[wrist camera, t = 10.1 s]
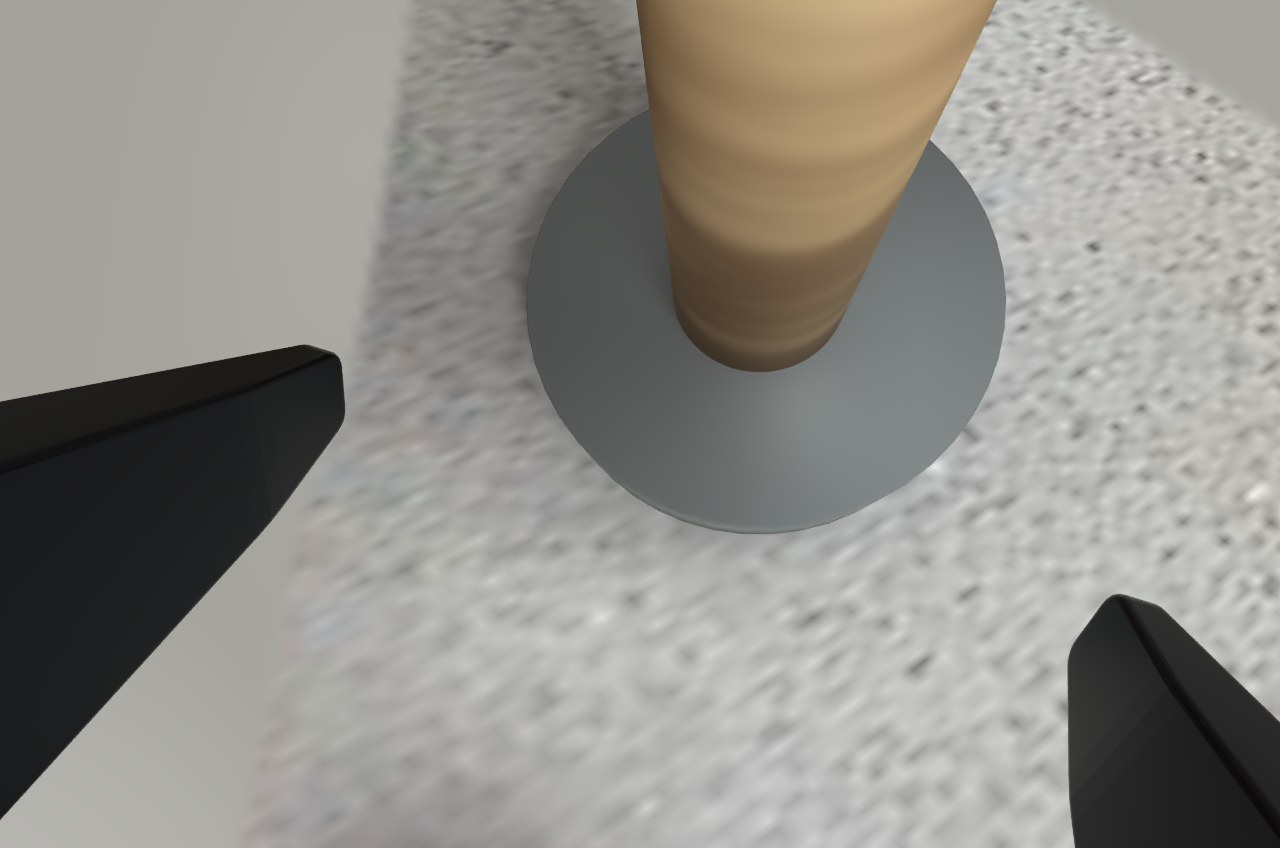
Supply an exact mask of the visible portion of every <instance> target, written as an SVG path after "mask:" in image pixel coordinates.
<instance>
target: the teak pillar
mask: <svg viewBox="0 0 1280 848" xmlns="http://www.w3.org/2000/svg"><path fill="white" fill-rule="evenodd" d="M996 1H997V0H636V2H637V10H638V18H639V26H640V34H641V42H642V50H643V58H644V67H645V75H646V83H647V91H648V99H649V107H650V115H651V123H652V131H653V139H654V147H655V155H656V163H657V171H658V180H659V188H660V196H661V204H662V212H663V220H664V228H665V236H666V244H667V252H668V260H669V268H670V276H671V284H672V292H673V300H674V307H675V311H676V315H677V318H678V320H679V322H680V325H681V327H682V329H683V330H684V332H685V334H686V335H687V337H688V338H689V339H690V340H691V342H692V343H693V344H694V345H695V346H696V347H697V348H698V349H699V350H700V351H701V352H703V353H704V354H705V355H707V356H708V357H709V358H711V359H713V360H714V361H716V362H718V363H720V364H722V365H725V366H727V367H730V368H733V369H737V370H741V371H748V372H771V371H778V370H782V369H786V368H789V367H792V366H794V365H797V364H799V363H801V362H803V361H805V360H806V359H808V358H810V357H811V356H813V355H814V354H815V353H817V352H818V351H819V350H820V349H821V348H822V347H823V346H824V345H825V344H826V343H827V342H828V341H829V340H830V338H831V337H832V336H833V334H834V333H835V331H836V329H837V327H838V326H839V324H840V322H841V320H842V318H843V316H844V314H845V312H846V310H847V307H848V305H849V303H850V301H851V299H852V297H853V295H854V293H855V291H856V289H857V287H858V285H859V283H860V281H861V279H862V277H863V275H864V273H865V270H866V268H867V266H868V264H869V262H870V260H871V258H872V256H873V254H874V252H875V250H876V248H877V246H878V244H879V242H880V240H881V238H882V236H883V233H884V231H885V229H886V227H887V225H888V223H889V221H890V219H891V217H892V215H893V213H894V211H895V209H896V207H897V205H898V203H899V201H900V199H901V197H902V194H903V192H904V190H905V188H906V186H907V184H908V182H909V180H910V178H911V176H912V174H913V172H914V170H915V168H916V166H917V164H918V162H919V160H920V157H921V155H922V153H923V151H924V149H925V147H926V145H927V143H928V141H929V139H930V137H931V135H932V133H933V131H934V129H935V127H936V125H937V123H938V121H939V118H940V116H941V114H942V112H943V110H944V108H945V106H946V104H947V102H948V100H949V98H950V96H951V94H952V92H953V90H954V88H955V86H956V84H957V81H958V79H959V77H960V75H961V73H962V71H963V69H964V67H965V65H966V63H967V61H968V59H969V57H970V55H971V53H972V51H973V49H974V47H975V44H976V42H977V40H978V38H979V36H980V34H981V32H982V30H983V28H984V26H985V24H986V22H987V20H988V18H989V16H990V14H991V12H992V10H993V8H994V5H995V3H996Z"/></svg>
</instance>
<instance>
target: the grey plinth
mask: <svg viewBox="0 0 1280 848" xmlns="http://www.w3.org/2000/svg"><path fill="white" fill-rule="evenodd" d="M526 307H527V319H528V331H529V338H530V343H531V347H532V352H533V356H534V360H535V364H536V367H537V370H538V372H539V375H540V378H541V380H542V383H543V386H544V388H545V391H546V393H547V395H548V396H549V398H550V400H551V402H552V404H553V406H554V407H555V409H556V411H557V413H558V415H559V417H560V418H561V419H562V421H563V422H564V424H565V425H566V426H567V428H568V429H569V430H570V432H571V433H572V434H573V436H574V437H575V438H576V440H577V441H578V442H579V443H580V445H581V446H582V447H583V448H584V449H585V450H586V451H587V452H588V453H589V455H590V456H591V457H592V458H593V459H594V460H595V461H596V462H597V463H598V464H599V465H600V466H601V467H602V468H603V469H604V470H605V471H606V473H607V474H608V475H609V476H610V477H611V478H612V479H613V480H615V481H616V482H617V483H618V484H620V485H621V486H622V487H623V488H625V489H626V490H627V491H629V492H630V493H631V494H632V495H634V496H635V497H637V498H638V499H640V500H642V501H643V502H645V503H647V504H648V505H650V506H652V507H653V508H655V509H657V510H658V511H661V512H663V513H665V514H668V515H670V516H672V517H675V518H677V519H679V520H682V521H684V522H687V523H691V524H694V525H698V526H701V527H705V528H709V529H712V530H719V531H726V532H733V533H740V534H776V533H784V532H793V531H800V530H804V529H808V528H812V527H816V526H820V525H824V524H828V523H830V522H833V521H835V520H838V519H840V518H843V517H845V516H847V515H850V514H852V513H855V512H857V511H859V510H860V509H862V508H864V507H866V506H868V505H870V504H872V503H874V502H875V501H877V500H879V499H881V498H883V497H884V496H886V495H888V494H890V493H891V492H893V491H895V490H897V489H898V488H900V487H902V486H904V485H905V484H907V483H908V482H909V481H911V480H912V479H913V478H914V477H916V476H917V475H918V474H920V473H921V472H922V471H924V470H925V469H926V468H927V467H929V466H930V465H931V464H932V463H933V462H934V461H935V460H936V459H937V458H938V457H939V456H940V455H941V454H942V453H943V452H944V451H945V450H946V449H947V448H948V447H949V446H950V445H951V444H952V443H953V442H954V441H955V439H956V438H957V437H958V435H959V434H960V433H961V431H962V430H963V429H964V427H965V426H966V424H967V423H968V422H969V420H970V419H971V418H972V416H973V415H974V413H975V411H976V409H977V407H978V405H979V403H980V402H981V400H982V398H983V396H984V394H985V392H986V390H987V389H988V386H989V383H990V380H991V378H992V375H993V372H994V369H995V367H996V364H997V361H998V358H999V353H1000V348H1001V343H1002V338H1003V333H1004V326H1005V307H1006V294H1005V283H1004V272H1003V266H1002V262H1001V258H1000V253H999V249H998V245H997V241H996V238H995V235H994V233H993V230H992V228H991V225H990V223H989V220H988V218H987V215H986V213H985V211H984V209H983V207H982V206H981V204H980V202H979V200H978V198H977V197H976V195H975V193H974V191H973V190H972V188H971V186H970V185H969V184H968V182H967V181H966V180H965V178H964V177H963V176H962V174H961V173H960V172H959V170H958V169H957V168H956V166H955V165H954V164H953V163H952V162H951V161H950V160H949V159H948V158H947V157H946V156H945V155H944V153H943V152H942V151H941V150H940V149H939V148H938V147H937V146H936V145H935V144H934V143H933V142H931V141H930V140H929V141H928V143H927V145H926V147H925V149H924V151H923V153H922V155H921V157H920V160H919V162H918V164H917V166H916V168H915V170H914V172H913V174H912V176H911V178H910V180H909V182H908V184H907V186H906V188H905V190H904V192H903V194H902V197H901V199H900V201H899V203H898V205H897V207H896V209H895V211H894V213H893V215H892V217H891V219H890V221H889V223H888V225H887V227H886V229H885V231H884V233H883V236H882V238H881V240H880V242H879V244H878V246H877V248H876V250H875V252H874V254H873V256H872V258H871V260H870V262H869V264H868V266H867V268H866V270H865V273H864V275H863V277H862V279H861V281H860V283H859V285H858V287H857V289H856V291H855V293H854V295H853V297H852V299H851V301H850V303H849V305H848V307H847V310H846V312H845V314H844V316H843V318H842V320H841V322H840V324H839V326H838V327H837V329H836V331H835V333H834V334H833V336H832V337H831V338H830V340H829V341H828V342H827V343H826V344H825V345H824V346H823V347H822V348H821V349H820V350H819V351H818V352H817V353H815V354H814V355H813V356H811V357H810V358H808V359H806V360H805V361H803V362H801V363H799V364H797V365H794V366H792V367H789V368H786V369H782V370H778V371H771V372H748V371H741V370H737V369H733V368H730V367H727V366H725V365H722V364H720V363H718V362H716V361H714V360H713V359H711V358H709V357H708V356H707V355H705V354H704V353H703V352H701V351H700V350H699V349H698V348H697V347H696V346H695V345H694V344H693V343H692V342H691V340H690V339H689V338H688V337H687V335H686V334H685V332H684V330H683V329H682V327H681V325H680V322H679V320H678V318H677V315H676V311H675V307H674V300H673V292H672V284H671V276H670V268H669V260H668V252H667V244H666V236H665V228H664V220H663V212H662V204H661V196H660V188H659V180H658V171H657V163H656V155H655V147H654V139H653V131H652V123H651V115H650V109H649V110H647V111H645V112H644V113H642V114H640V115H638V116H636V117H634V118H633V119H631V120H630V121H628V122H627V123H626V124H624V125H623V126H621V127H620V128H619V129H617V130H616V131H614V132H613V133H612V134H610V135H609V136H608V137H607V138H606V139H604V140H603V141H602V142H601V143H600V144H599V145H598V146H597V147H596V148H595V149H594V150H592V151H591V152H590V153H589V154H588V155H587V156H586V158H585V159H584V160H583V161H582V162H581V163H580V165H579V166H578V167H577V168H576V169H575V170H574V172H573V173H572V174H571V175H570V176H569V178H568V179H567V181H566V182H565V184H564V185H563V187H562V189H561V190H560V192H559V193H558V195H557V196H556V198H555V199H554V201H553V203H552V205H551V207H550V209H549V211H548V213H547V216H546V218H545V220H544V222H543V224H542V226H541V229H540V232H539V235H538V238H537V241H536V244H535V247H534V250H533V255H532V260H531V265H530V271H529V276H528V288H527V306H526Z"/></svg>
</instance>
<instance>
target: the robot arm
mask: <svg viewBox="0 0 1280 848" xmlns="http://www.w3.org/2000/svg"><path fill="white" fill-rule="evenodd" d="M344 416H345V399H344V387H343V374H342V365H341V361H340V359H339V357H338V356H337V355H336V354H335V353H333V352H330V351H327V350H323V349H320V348H317V347H314V346H310V345H298V346H293V347H288V348H283V349H277V350H271V351H266V352H262V353H256V354H250V355H245V356H240V357H235V358H229V359H224V360H219V361H214V362H208V363H203V364H197V365H192V366H187V367H181V368H176V369H171V370H166V371H160V372H156V373H150V374H144V375H139V376H134V377H128V378H123V379H118V380H113V381H107V382H102V383H97V384H91V385H86V386H81V387H76V388H70V389H65V390H60V391H55V392H49V393H44V394H38V395H33V396H28V397H23V398H18V399H12V400H7V401H2V402H0V820H1V818H2V817H3V816H4V815H5V814H6V813H7V812H8V811H9V810H10V808H12V806H13V805H14V804H15V803H16V802H17V801H18V800H19V799H20V798H21V797H22V795H23V794H24V793H25V792H26V791H27V790H28V789H29V788H30V787H31V785H32V784H33V783H34V782H35V781H36V780H37V779H38V778H39V776H41V774H42V773H43V772H44V771H45V770H46V769H47V768H48V767H49V766H50V765H51V764H52V762H53V761H54V760H55V759H56V758H57V757H58V756H59V755H60V754H61V752H62V751H63V750H64V749H65V748H66V747H67V746H68V745H69V744H70V743H71V742H72V740H73V739H74V738H75V737H76V736H77V735H78V734H79V733H80V732H81V731H82V729H83V728H84V727H85V726H86V725H87V724H88V723H89V722H90V721H91V720H92V718H93V717H94V716H95V715H96V714H97V713H98V712H99V711H100V710H101V709H102V707H103V706H104V705H105V704H106V703H107V702H108V701H109V700H110V699H111V698H112V696H113V695H114V694H115V693H116V692H117V691H118V690H119V689H120V687H122V686H123V684H124V683H125V682H126V681H127V680H128V679H129V678H130V677H131V676H132V674H133V673H134V672H135V671H136V670H137V669H138V668H139V667H140V666H141V665H142V664H143V662H144V661H145V660H146V659H147V658H148V657H149V656H150V655H151V654H152V652H153V651H154V650H155V649H156V648H157V647H158V646H159V645H160V644H161V642H162V641H163V640H164V639H165V638H166V637H167V636H168V635H169V634H170V633H171V632H172V631H173V629H174V628H175V627H176V626H177V625H178V624H179V623H180V622H181V620H183V618H184V617H185V616H186V615H187V614H188V613H189V612H190V611H191V610H192V609H193V607H194V606H195V605H196V604H197V603H198V602H199V601H200V600H201V599H202V598H203V596H204V595H205V594H206V593H207V592H208V591H209V590H210V589H211V588H212V587H213V585H214V584H215V583H216V582H217V581H218V580H219V579H220V578H221V577H222V576H223V574H224V573H225V572H226V571H227V570H228V569H229V568H230V567H231V566H232V564H233V563H234V562H235V561H236V560H237V559H238V558H239V557H240V556H241V555H242V554H243V552H244V551H245V550H246V549H247V548H248V547H249V546H250V545H251V544H252V542H253V541H254V540H255V539H256V538H257V537H258V536H259V535H260V534H261V532H262V531H263V530H264V529H265V528H266V527H267V526H268V524H269V523H270V522H271V521H272V519H273V518H274V517H275V516H276V515H277V513H278V512H279V511H280V509H281V508H282V507H283V506H284V504H285V503H286V502H287V500H288V499H289V498H290V496H291V495H292V493H293V492H294V491H295V489H296V488H297V487H298V485H299V484H300V482H301V481H302V480H303V478H304V477H305V476H306V474H307V473H308V472H309V470H310V469H311V467H312V466H313V465H314V463H315V462H316V461H317V459H318V458H319V456H320V455H321V454H322V452H323V451H324V450H325V448H326V447H327V446H328V444H329V443H330V441H331V440H332V439H333V437H334V436H335V435H336V433H337V432H338V430H339V429H340V427H341V425H342V423H343V420H344ZM1068 775H1069V800H1070V809H1071V819H1072V828H1073V835H1074V843H1075V848H1280V722H1279V721H1278V720H1277V719H1276V718H1275V717H1274V716H1273V715H1272V714H1271V713H1270V712H1269V711H1268V710H1267V709H1266V708H1265V707H1264V706H1263V705H1262V704H1261V703H1260V702H1259V701H1258V700H1257V699H1255V698H1254V697H1253V696H1252V695H1251V694H1250V693H1249V692H1248V691H1247V690H1246V689H1245V688H1244V687H1243V686H1242V685H1241V684H1240V683H1239V682H1238V681H1237V680H1236V679H1235V678H1234V677H1233V676H1232V675H1231V674H1230V673H1229V672H1228V671H1227V670H1226V669H1224V668H1223V667H1222V666H1221V665H1220V664H1219V663H1218V662H1217V661H1216V660H1215V659H1214V658H1213V657H1212V656H1211V655H1210V654H1209V653H1208V652H1207V651H1206V650H1205V649H1204V648H1203V647H1202V646H1201V645H1200V644H1199V643H1198V642H1197V641H1196V640H1195V639H1194V638H1192V637H1191V636H1190V635H1189V634H1188V633H1187V632H1186V631H1185V630H1184V629H1183V628H1182V627H1181V626H1180V625H1179V624H1178V623H1177V622H1176V621H1175V620H1174V619H1173V618H1172V617H1171V616H1170V615H1169V614H1168V613H1167V612H1166V611H1165V610H1163V609H1162V608H1161V607H1160V606H1158V605H1156V604H1153V603H1150V602H1147V601H1143V600H1140V599H1137V598H1134V597H1130V596H1127V595H1124V594H1115V595H1112V596H1110V597H1109V598H1107V599H1106V600H1105V601H1104V603H1103V604H1102V605H1101V607H1100V608H1099V609H1098V611H1097V612H1096V613H1095V615H1094V616H1093V617H1092V619H1091V620H1090V622H1089V623H1088V624H1087V626H1086V627H1085V628H1084V630H1083V631H1082V632H1081V634H1080V635H1079V637H1078V638H1077V639H1076V641H1075V642H1074V644H1073V646H1072V648H1071V650H1070V654H1069V658H1068Z"/></svg>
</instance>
